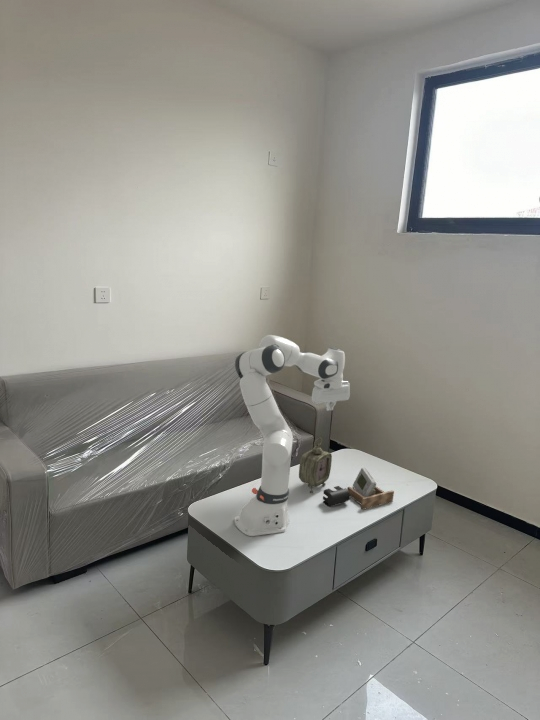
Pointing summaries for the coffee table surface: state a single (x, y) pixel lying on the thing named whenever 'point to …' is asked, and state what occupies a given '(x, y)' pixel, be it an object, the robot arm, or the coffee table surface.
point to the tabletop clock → (315, 466)
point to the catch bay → (372, 497)
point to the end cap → (336, 496)
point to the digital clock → (364, 483)
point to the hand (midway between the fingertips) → (329, 410)
